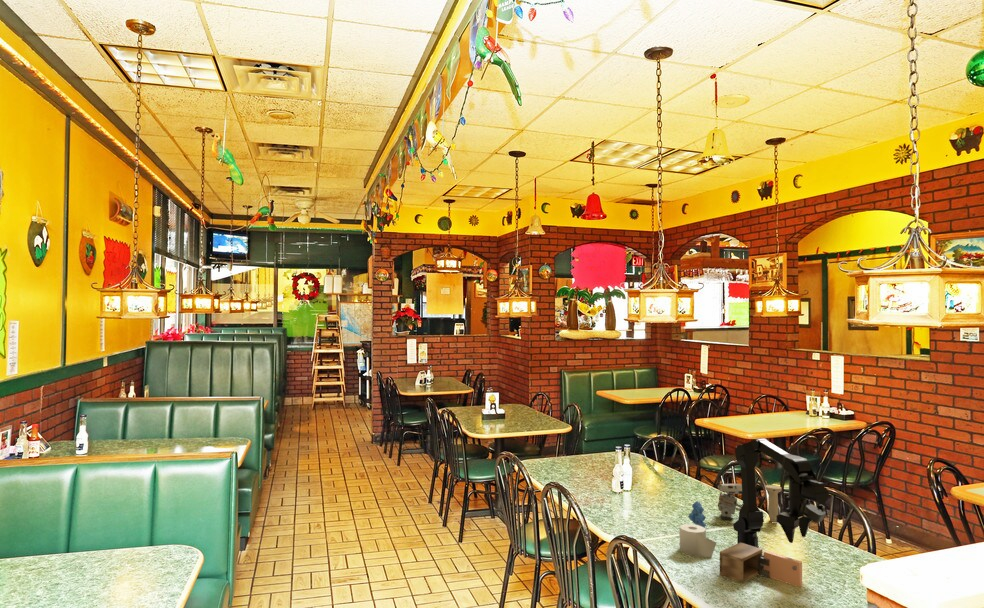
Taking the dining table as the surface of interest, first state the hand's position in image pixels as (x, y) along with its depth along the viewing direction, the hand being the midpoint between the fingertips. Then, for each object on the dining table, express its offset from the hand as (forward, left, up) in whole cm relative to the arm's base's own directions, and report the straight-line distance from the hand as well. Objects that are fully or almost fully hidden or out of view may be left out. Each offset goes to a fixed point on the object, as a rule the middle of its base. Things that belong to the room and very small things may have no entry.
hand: (797, 539), depth 209 cm
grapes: (-45, +9, -12) cm, 47 cm away
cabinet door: (-1, -10, -12) cm, 15 cm away
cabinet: (-12, -16, -12) cm, 23 cm away
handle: (-31, +47, -12) cm, 57 cm away
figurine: (-45, +37, -12) cm, 59 cm away
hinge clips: (-6, -10, -12) cm, 16 cm away
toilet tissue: (-33, -11, -12) cm, 36 cm away
